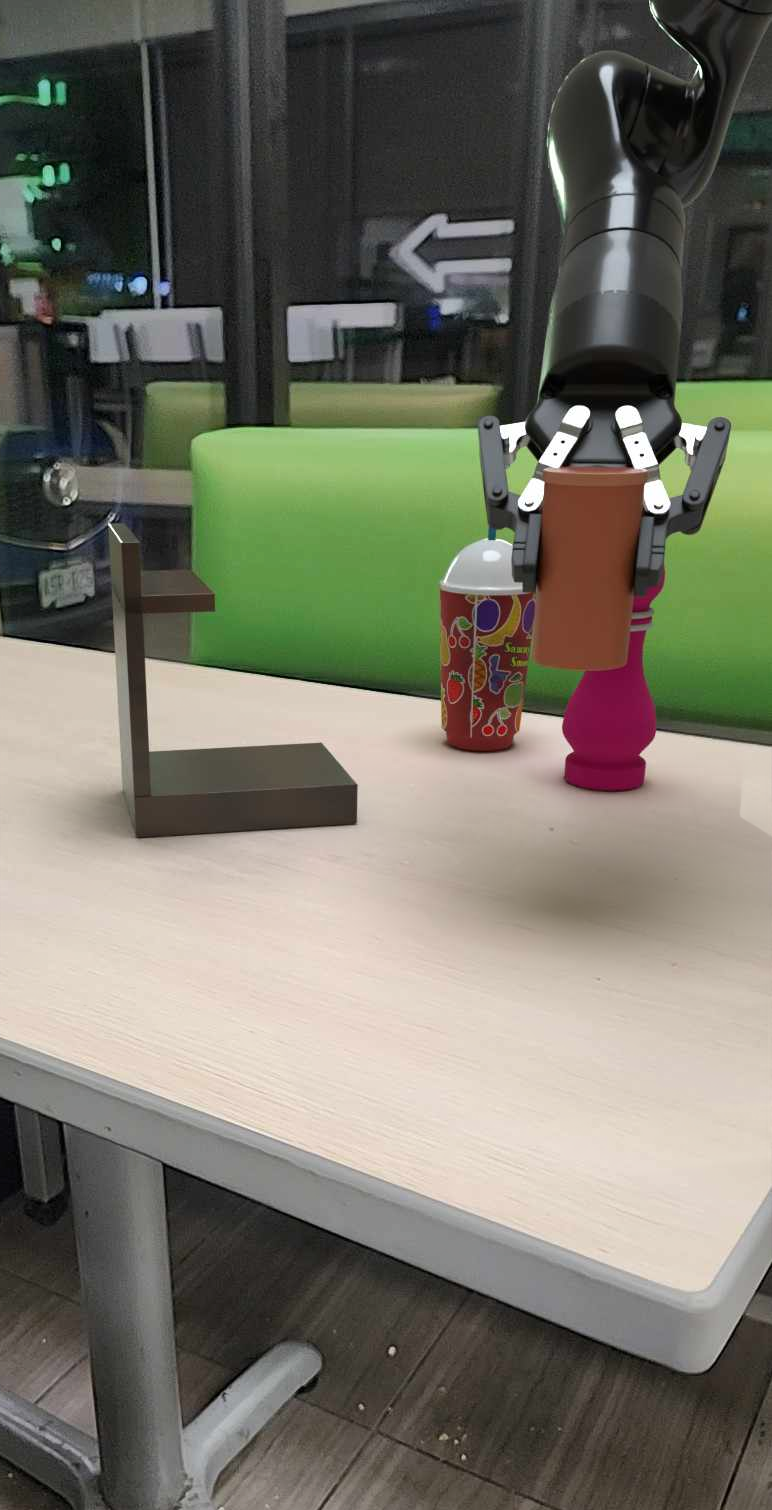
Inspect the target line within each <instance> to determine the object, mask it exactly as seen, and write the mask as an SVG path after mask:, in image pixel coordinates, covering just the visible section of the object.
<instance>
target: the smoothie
mask: <svg viewBox="0 0 772 1510" xmlns="http://www.w3.org/2000/svg"><path fill="white" fill-rule="evenodd" d="M496 537H497V530H494V529H492V528H490V527H489V526H488V529H487V538H483V539H479V540H476V541H473V542H472V543H470V544H468V545H466V546H465V547H463V548H462V549H461V550H460V551H459V552H458V553H457V554H456V555H455V556H454V558H453V559H452V560H451V562H450V563H449V564H448V567H447V569H446V571H445V574H444V576H443V578H442V579H440V581H439V582H438V588H439V643H440V645H439V647H440V650H439V651H440V713H441V714H440V715H441V716H440V717H441V718H440V719H441V721H440V722H441V726H440V727H441V729H442V730H443V731H444V732H445V734H446V743H448V744H449V745H451V746H452V747H454V748H456V749H459V750H464V751H471V752H493V751H501V750H504V749H507V748H509V747H511V746H513V741H514V738H515V734H517V733H519V732H520V728H521V723H522V722H521V721H522V713H523V707H524V698H525V692H526V685H527V676H528V668H529V661H530V655H531V648H532V640H533V630H534V616H535V602H536V593H523V591H522V582H514V580H513V577H512V566H511V557H512V550H513V543H510V542H508V541H506V540H504V539H500V538H496ZM536 588H537V587H536Z"/></svg>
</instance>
